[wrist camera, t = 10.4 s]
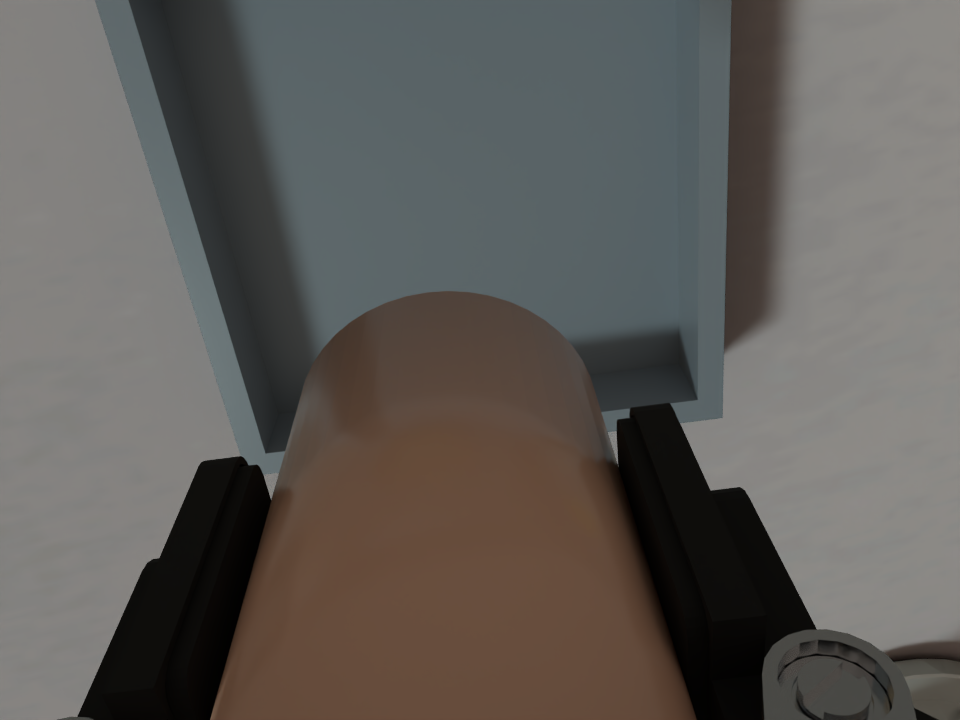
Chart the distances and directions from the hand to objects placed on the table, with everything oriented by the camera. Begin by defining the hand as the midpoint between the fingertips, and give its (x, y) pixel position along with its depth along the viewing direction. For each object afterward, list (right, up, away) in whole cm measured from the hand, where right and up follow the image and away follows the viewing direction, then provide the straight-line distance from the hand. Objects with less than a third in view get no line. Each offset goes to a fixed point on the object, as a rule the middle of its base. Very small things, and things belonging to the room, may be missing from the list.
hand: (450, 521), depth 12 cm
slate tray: (0, +8, +14) cm, 16 cm away
